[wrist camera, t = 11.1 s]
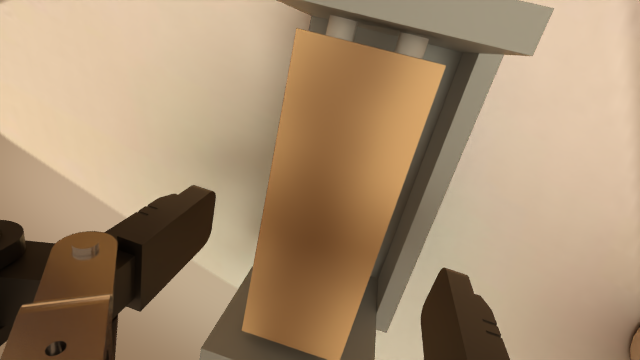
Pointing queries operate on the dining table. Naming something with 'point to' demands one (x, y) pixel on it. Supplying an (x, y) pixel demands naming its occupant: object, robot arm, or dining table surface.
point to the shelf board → (333, 186)
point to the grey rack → (432, 150)
